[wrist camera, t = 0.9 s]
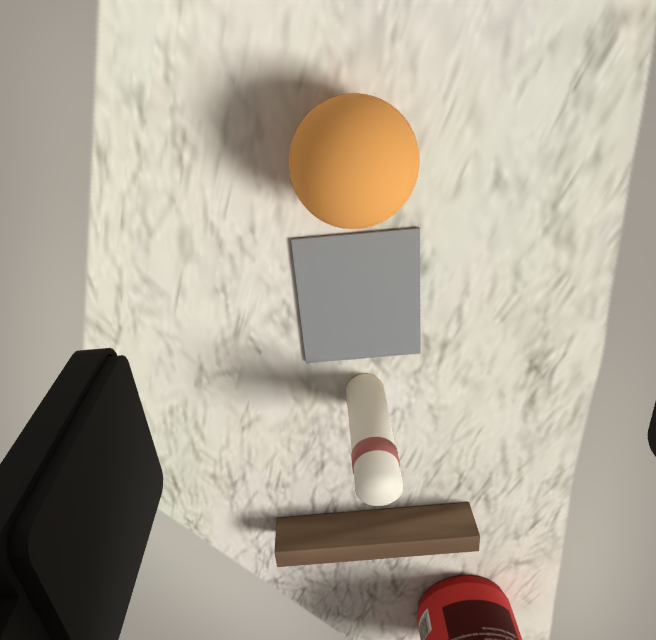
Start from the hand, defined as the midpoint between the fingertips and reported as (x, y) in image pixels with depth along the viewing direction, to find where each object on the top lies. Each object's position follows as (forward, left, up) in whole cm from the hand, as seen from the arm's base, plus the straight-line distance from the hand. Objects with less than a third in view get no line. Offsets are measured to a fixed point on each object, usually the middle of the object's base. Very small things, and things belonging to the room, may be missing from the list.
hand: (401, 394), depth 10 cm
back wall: (+27, 0, -21) cm, 34 cm away
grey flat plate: (+9, 0, -21) cm, 23 cm away
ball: (0, 0, -18) cm, 18 cm away
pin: (+15, 0, -21) cm, 26 cm away
